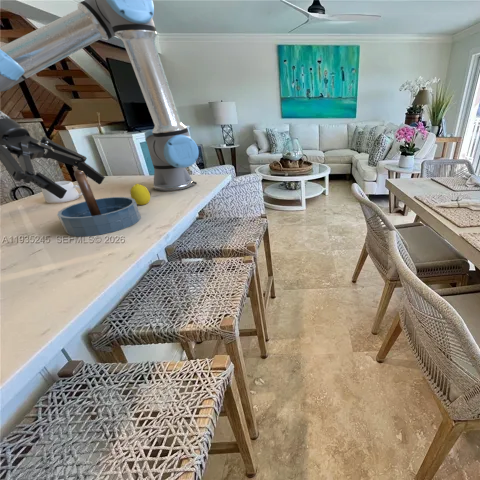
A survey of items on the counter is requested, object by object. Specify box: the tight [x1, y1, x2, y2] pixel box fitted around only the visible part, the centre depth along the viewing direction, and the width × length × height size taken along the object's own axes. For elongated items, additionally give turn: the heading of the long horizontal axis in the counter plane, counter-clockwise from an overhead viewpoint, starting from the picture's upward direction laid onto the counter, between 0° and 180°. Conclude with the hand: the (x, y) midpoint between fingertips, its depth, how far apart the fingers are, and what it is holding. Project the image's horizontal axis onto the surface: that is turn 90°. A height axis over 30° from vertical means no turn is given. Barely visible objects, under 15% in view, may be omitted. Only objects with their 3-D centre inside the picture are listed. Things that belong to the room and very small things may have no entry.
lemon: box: [129, 183, 151, 206], centre depth 91 cm, size 6×6×8 cm
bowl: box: [56, 196, 142, 237], centre depth 76 cm, size 18×18×6 cm
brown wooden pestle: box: [73, 169, 101, 216], centre depth 74 cm, size 6×6×15 cm
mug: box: [40, 180, 83, 204], centre depth 98 cm, size 12×10×6 cm
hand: (84, 187), depth 72 cm, fingers open, 13 cm apart
